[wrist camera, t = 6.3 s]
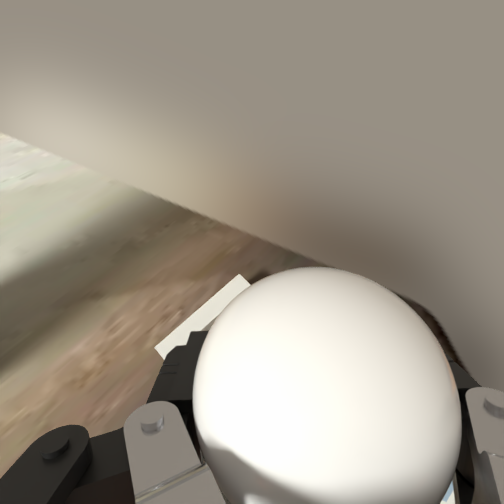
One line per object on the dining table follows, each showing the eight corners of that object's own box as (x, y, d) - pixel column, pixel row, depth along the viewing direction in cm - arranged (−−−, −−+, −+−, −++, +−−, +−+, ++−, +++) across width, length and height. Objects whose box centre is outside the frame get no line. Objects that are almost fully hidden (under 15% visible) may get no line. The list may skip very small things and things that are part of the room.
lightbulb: (342, 338, 16) (463, 215, 7) (367, 487, 13) (649, 633, 4) (223, 341, 16) (180, 221, 7) (220, 490, 13) (132, 647, 4)
